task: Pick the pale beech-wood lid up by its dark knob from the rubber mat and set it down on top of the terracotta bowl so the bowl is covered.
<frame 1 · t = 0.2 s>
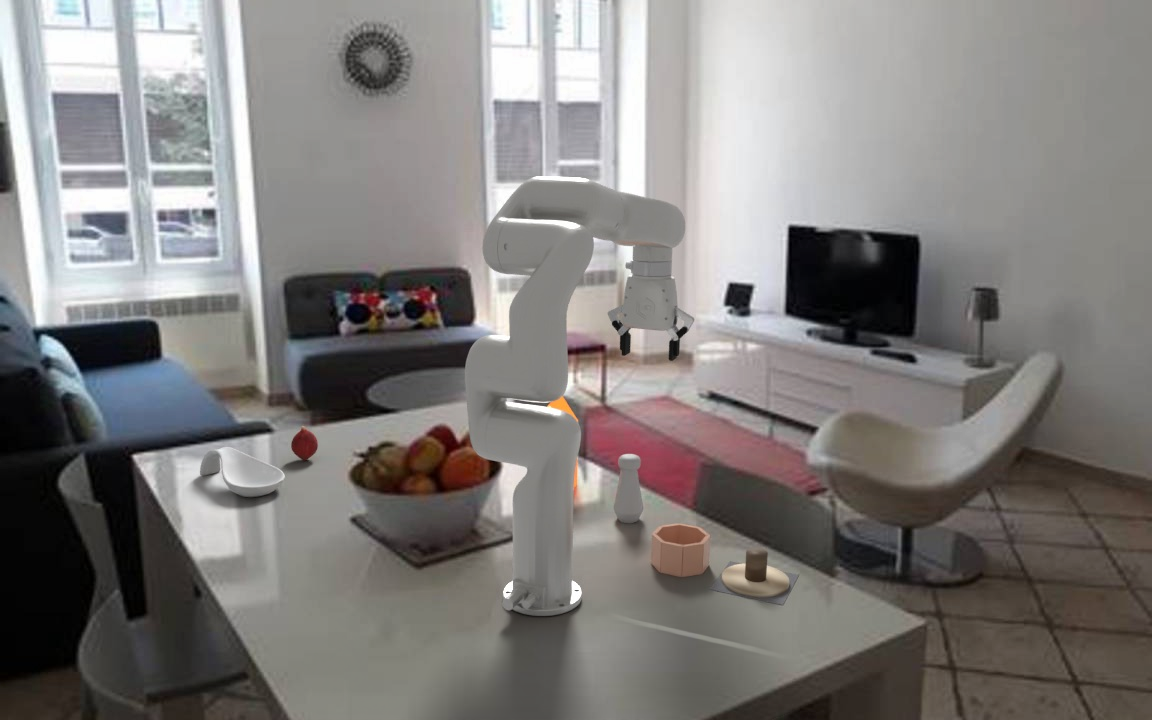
hand: (649, 356, 183), 31 cm above the table, fingers open, 9 cm apart
mat: (755, 585, 157), on the table
bowl: (679, 567, 163), on the table
onion: (305, 461, 215), on the table
lid: (755, 582, 156), point 1 cm above the table, touching mat
salt shaker: (628, 520, 184), on the table
orange juice: (554, 490, 199), on the table
spoon rest: (239, 487, 199), on the table
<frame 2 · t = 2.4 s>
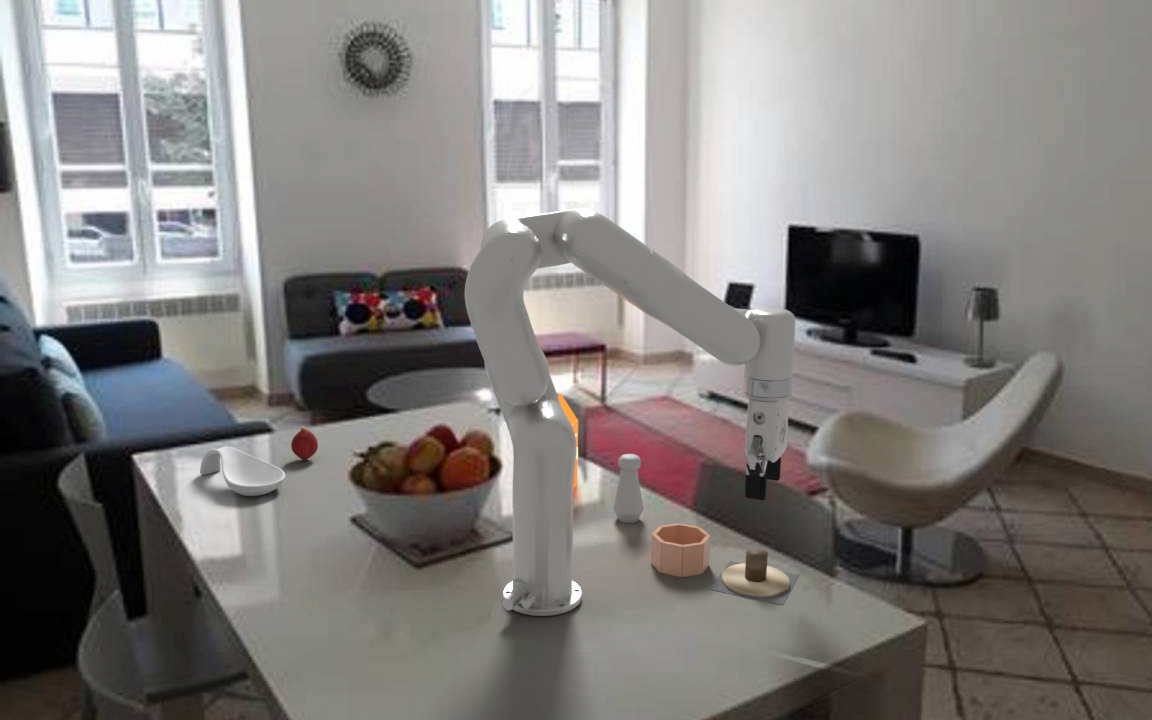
hand: (762, 488, 153), 17 cm above the table, fingers open, 9 cm apart
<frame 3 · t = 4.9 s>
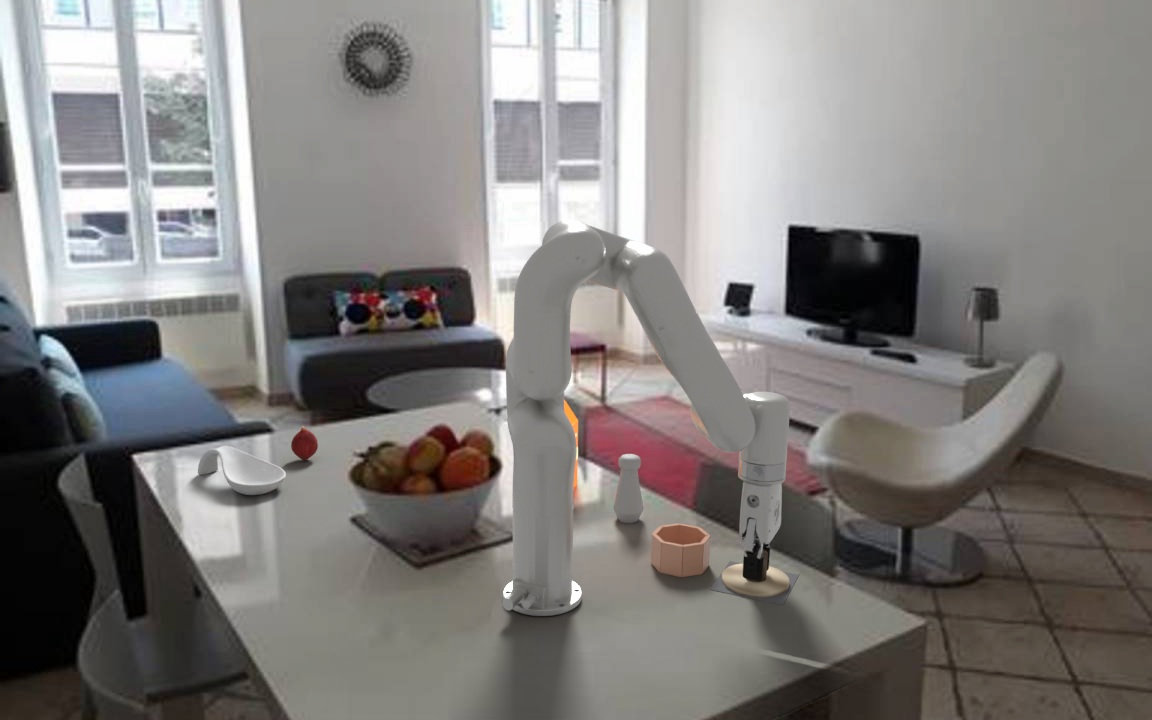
hand: (755, 572, 156), 2 cm above the table, fingers closed on lid, 3 cm apart
lid: (755, 581, 156), point 1 cm above the table, touching gripper, mat
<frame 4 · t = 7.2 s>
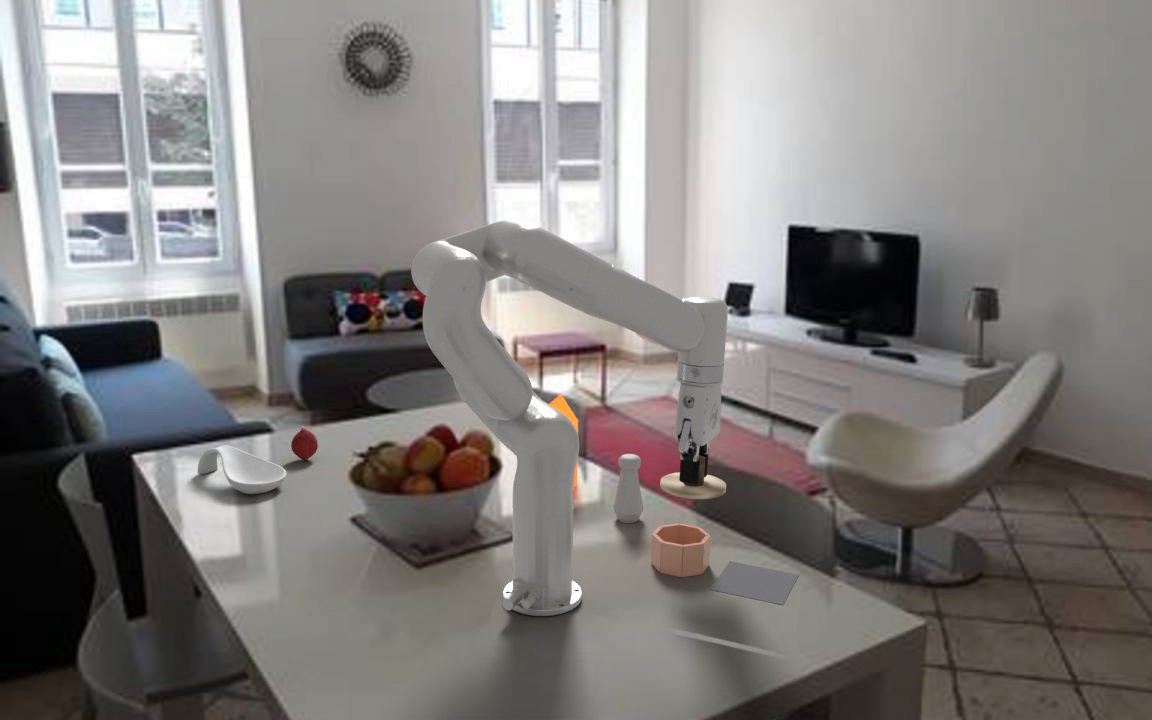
hand: (693, 478, 158), 17 cm above the table, fingers closed on lid, 3 cm apart
lid: (692, 487, 158), point 15 cm above the table, touching gripper
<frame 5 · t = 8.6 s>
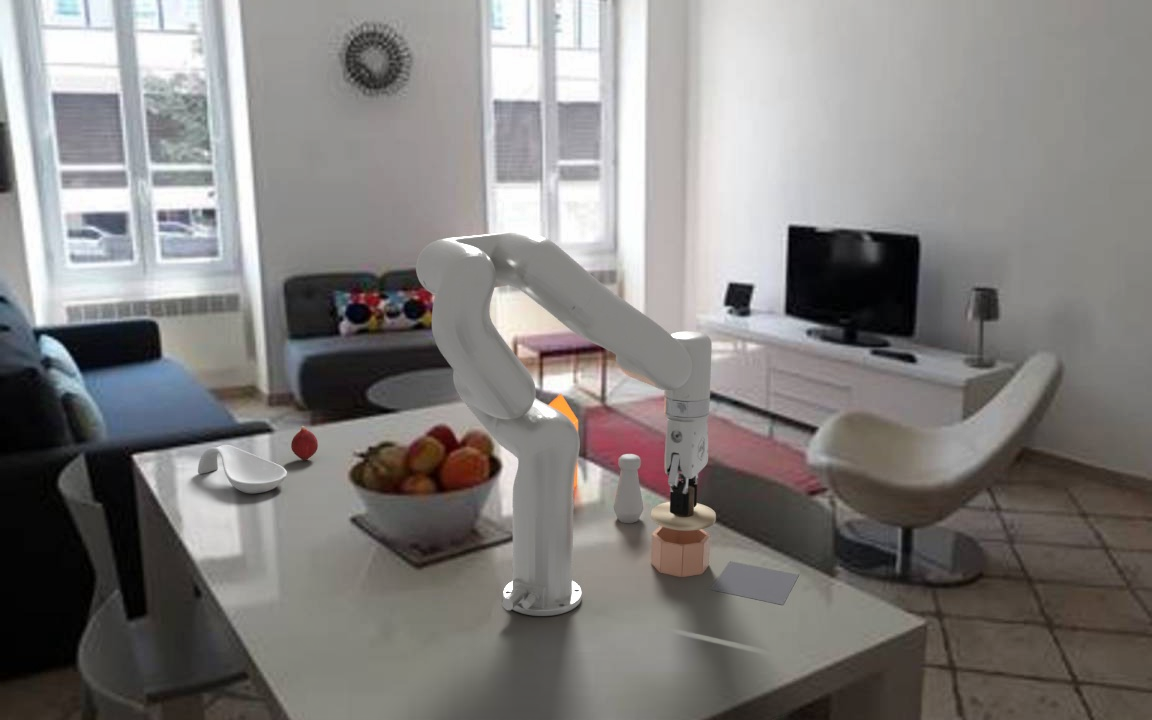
hand: (683, 508, 161), 11 cm above the table, fingers closed on lid, 3 cm apart
lid: (683, 517, 161), point 9 cm above the table, touching gripper
when the fingers open (9 cm above the table, at t = 9.6 s): lid drops 1 cm, resting on bowl.
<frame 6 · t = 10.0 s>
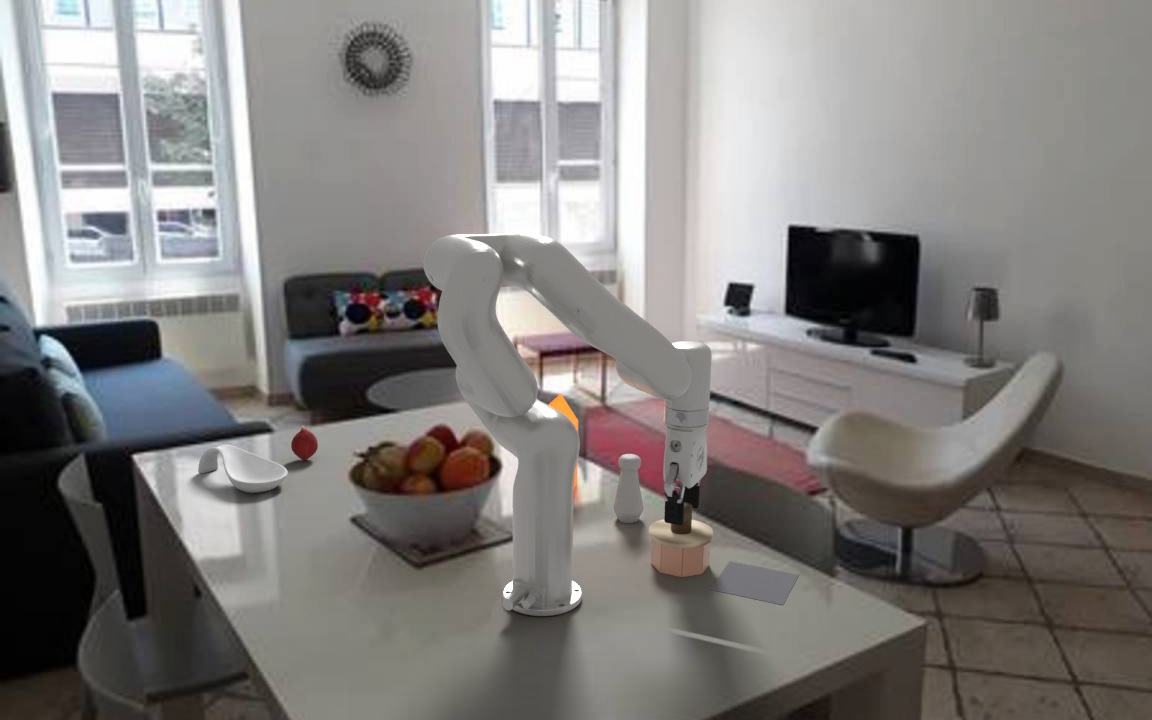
hand: (681, 514, 161), 10 cm above the table, fingers open, 7 cm apart
lid: (680, 534, 162), point 6 cm above the table, touching bowl
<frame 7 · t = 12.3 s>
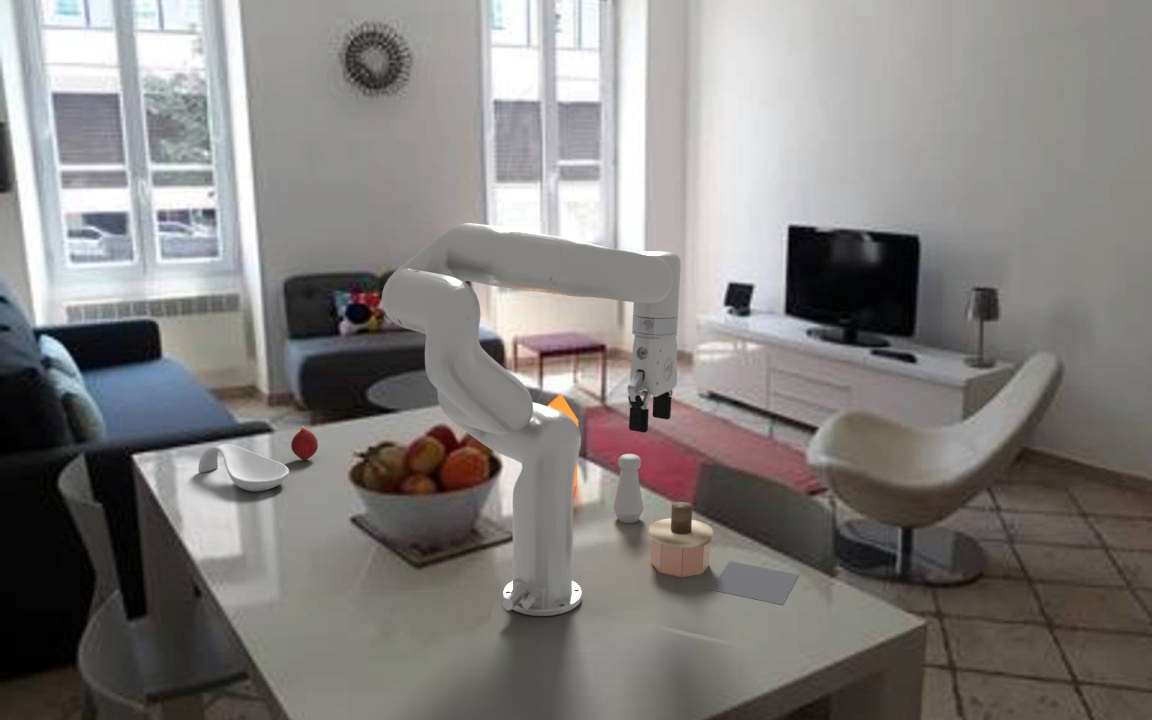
hand: (650, 424, 161), 25 cm above the table, fingers open, 9 cm apart
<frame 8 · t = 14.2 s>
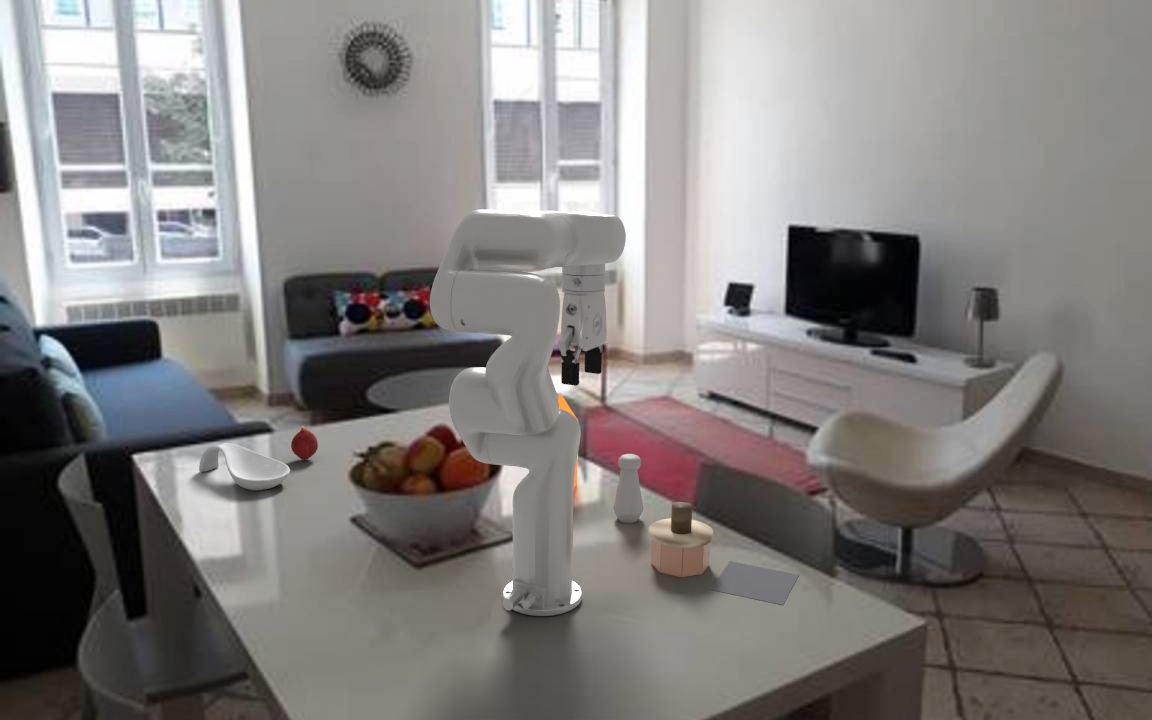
hand: (581, 378, 168), 30 cm above the table, fingers open, 9 cm apart
at the end: lid 0.1 cm off-centre on the bowl, point 6.0 cm above the bowl's base; lid tilted 0°; the gripper is holding nothing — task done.
